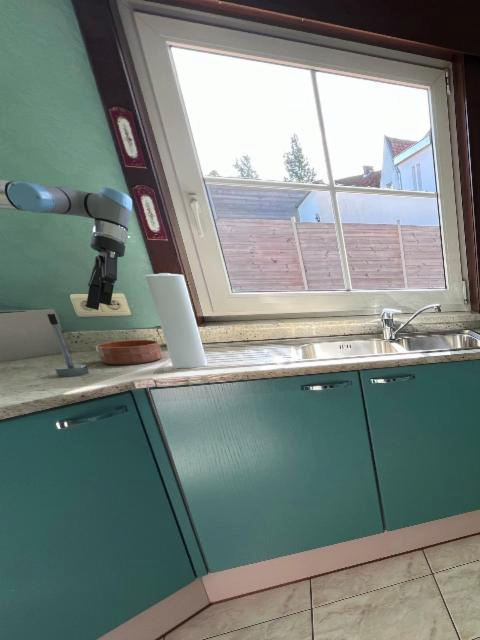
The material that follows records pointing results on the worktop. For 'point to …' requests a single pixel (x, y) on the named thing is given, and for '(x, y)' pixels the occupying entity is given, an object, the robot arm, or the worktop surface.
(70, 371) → the potato masher
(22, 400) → the worktop surface
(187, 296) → the cylinder container
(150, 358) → the bowl
